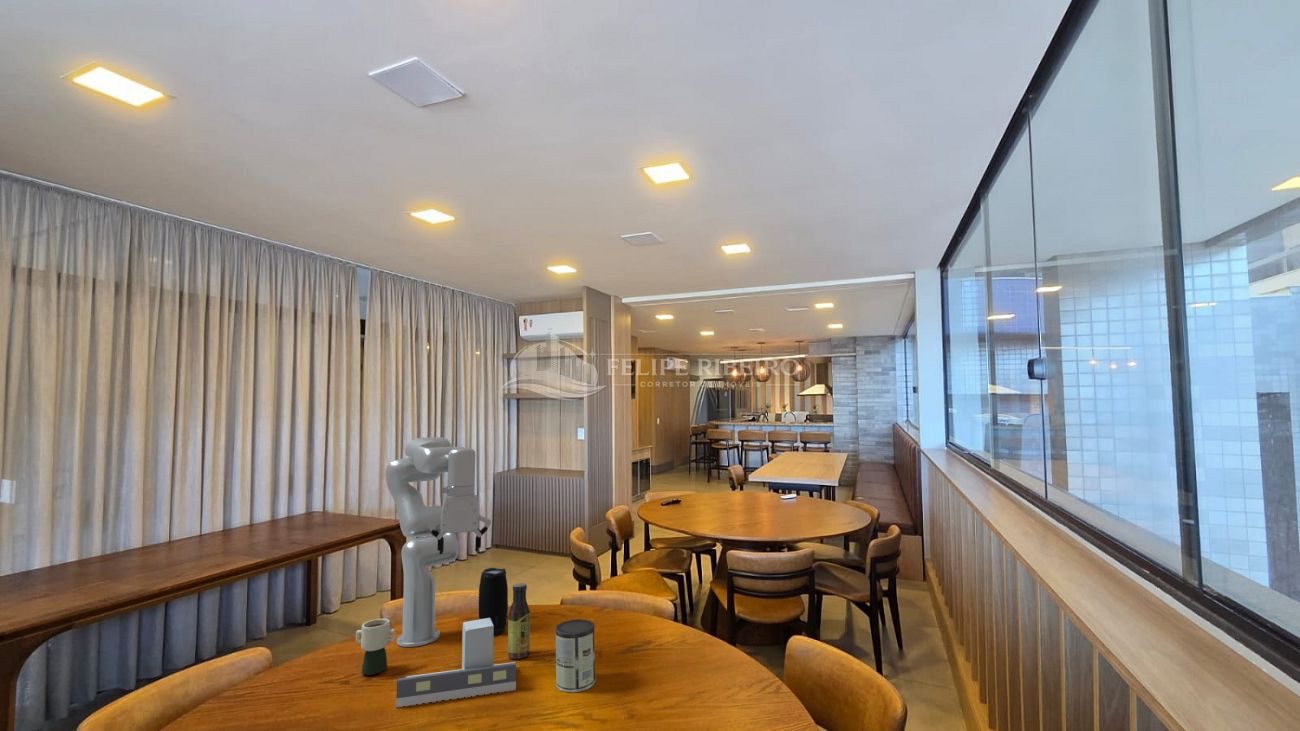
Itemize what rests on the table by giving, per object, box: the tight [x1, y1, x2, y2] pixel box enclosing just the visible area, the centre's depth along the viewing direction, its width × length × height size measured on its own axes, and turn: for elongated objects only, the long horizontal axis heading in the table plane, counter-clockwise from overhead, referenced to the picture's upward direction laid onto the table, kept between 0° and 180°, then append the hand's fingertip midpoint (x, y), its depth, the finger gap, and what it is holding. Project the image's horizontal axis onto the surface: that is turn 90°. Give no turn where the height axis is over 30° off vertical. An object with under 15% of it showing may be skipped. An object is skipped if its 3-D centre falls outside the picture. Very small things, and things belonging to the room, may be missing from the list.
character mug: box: [355, 618, 396, 676], centre depth 146 cm, size 11×7×13 cm, turn 91°
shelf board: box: [395, 661, 517, 709], centre depth 135 cm, size 12×28×2 cm, turn 105°
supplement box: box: [461, 618, 494, 670], centre depth 138 cm, size 7×7×13 cm
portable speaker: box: [478, 567, 509, 637], centre depth 174 cm, size 9×9×20 cm
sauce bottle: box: [507, 582, 531, 660], centre depth 155 cm, size 6×6×20 cm
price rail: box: [395, 662, 517, 699], centre depth 131 cm, size 1×28×4 cm, turn 105°
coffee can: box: [554, 618, 596, 693], centre depth 137 cm, size 10×10×14 cm
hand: (459, 551), depth 151 cm, fingers open, 9 cm apart
